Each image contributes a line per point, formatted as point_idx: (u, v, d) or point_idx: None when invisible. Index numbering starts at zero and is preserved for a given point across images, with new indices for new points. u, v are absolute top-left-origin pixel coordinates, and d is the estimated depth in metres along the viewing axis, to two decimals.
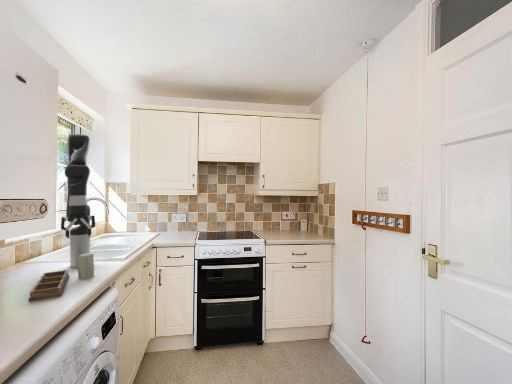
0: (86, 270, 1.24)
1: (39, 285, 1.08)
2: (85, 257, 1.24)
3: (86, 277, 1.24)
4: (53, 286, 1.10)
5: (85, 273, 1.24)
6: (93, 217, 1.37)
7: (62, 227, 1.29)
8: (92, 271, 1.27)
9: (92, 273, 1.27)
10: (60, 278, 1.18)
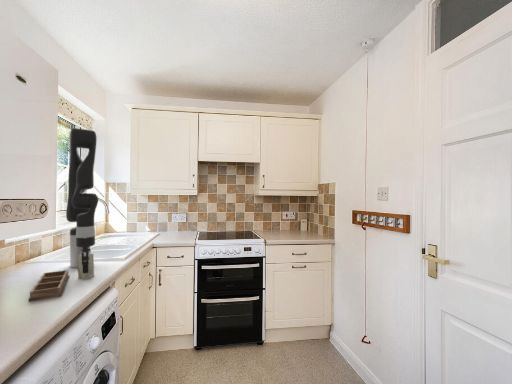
0: None
1: (39, 285, 1.08)
2: None
3: (86, 277, 1.24)
4: (53, 286, 1.10)
5: (85, 273, 1.24)
6: (89, 248, 1.32)
7: (88, 261, 1.22)
8: (92, 271, 1.27)
9: (92, 273, 1.27)
10: (60, 278, 1.18)
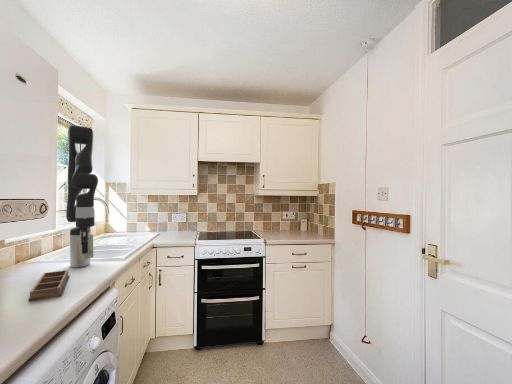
0: None
1: (39, 285, 1.08)
2: None
3: (85, 257, 1.24)
4: (53, 286, 1.10)
5: None
6: None
7: (87, 242, 1.22)
8: (91, 252, 1.27)
9: (91, 254, 1.27)
10: (60, 278, 1.18)
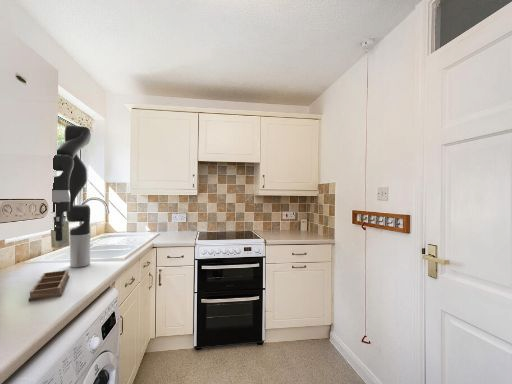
0: None
1: (39, 285, 1.08)
2: None
3: (60, 245, 1.14)
4: (53, 286, 1.10)
5: (59, 241, 1.13)
6: (64, 216, 1.22)
7: (61, 228, 1.12)
8: (67, 240, 1.17)
9: (67, 242, 1.17)
10: (60, 278, 1.18)
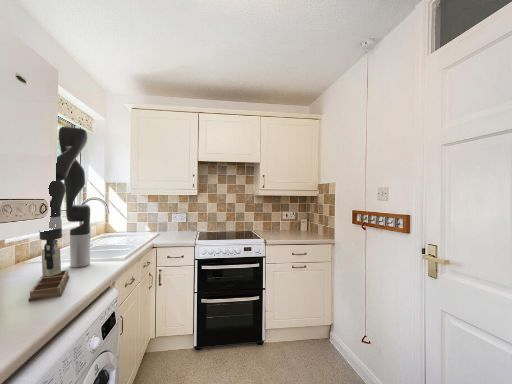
0: None
1: (39, 285, 1.08)
2: None
3: (51, 274, 1.11)
4: (53, 286, 1.10)
5: (50, 269, 1.11)
6: (56, 242, 1.19)
7: (52, 256, 1.09)
8: (58, 267, 1.14)
9: (58, 269, 1.14)
10: (60, 278, 1.18)
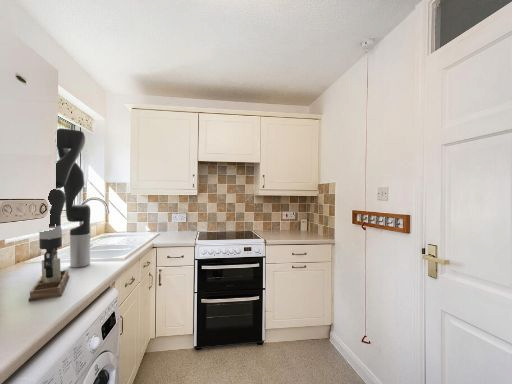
0: None
1: (39, 285, 1.08)
2: None
3: None
4: (53, 286, 1.10)
5: (50, 280, 1.11)
6: (56, 249, 1.19)
7: (52, 265, 1.08)
8: (58, 278, 1.14)
9: (58, 280, 1.14)
10: None
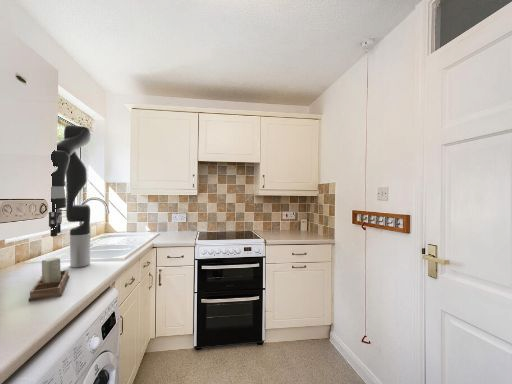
0: (51, 277, 1.11)
1: (39, 285, 1.08)
2: (49, 262, 1.11)
3: None
4: (53, 286, 1.10)
5: (50, 280, 1.11)
6: None
7: (56, 223, 1.10)
8: (58, 278, 1.14)
9: (58, 280, 1.14)
10: None
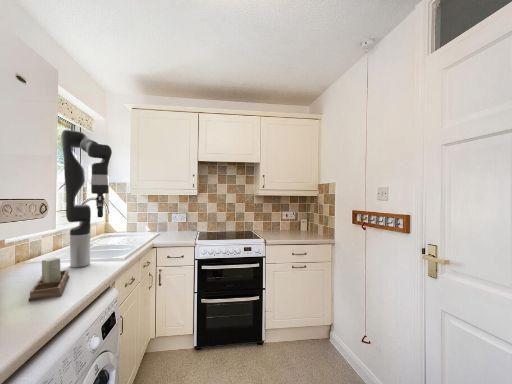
0: (51, 277, 1.11)
1: (39, 285, 1.08)
2: (49, 262, 1.11)
3: None
4: (53, 286, 1.10)
5: (50, 280, 1.11)
6: None
7: (102, 206, 1.29)
8: (58, 278, 1.14)
9: (58, 280, 1.14)
10: None
